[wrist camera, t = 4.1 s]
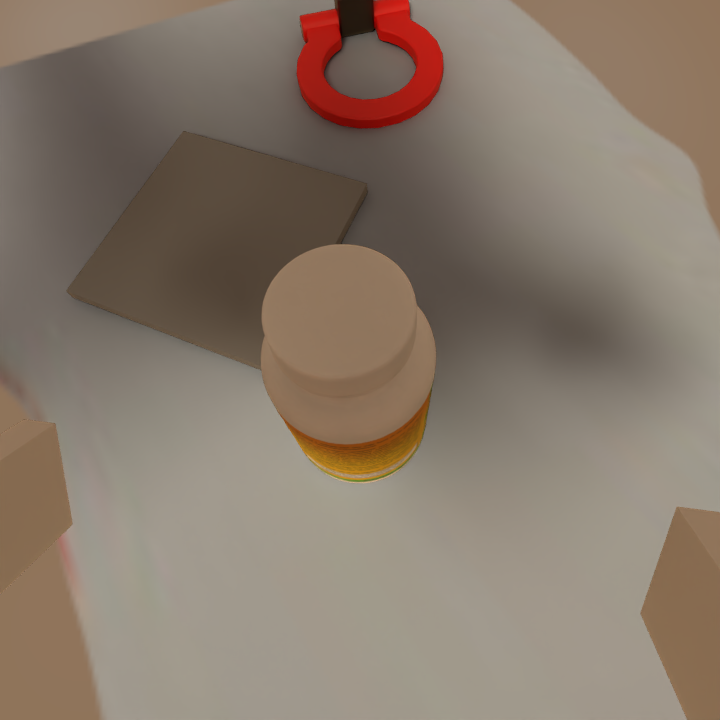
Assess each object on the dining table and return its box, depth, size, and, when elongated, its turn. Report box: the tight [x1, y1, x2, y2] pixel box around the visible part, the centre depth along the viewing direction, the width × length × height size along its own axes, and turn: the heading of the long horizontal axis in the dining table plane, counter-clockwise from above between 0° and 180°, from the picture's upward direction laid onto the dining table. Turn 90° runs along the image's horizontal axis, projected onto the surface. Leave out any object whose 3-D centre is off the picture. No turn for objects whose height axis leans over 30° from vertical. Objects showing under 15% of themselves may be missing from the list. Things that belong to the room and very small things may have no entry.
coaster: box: [66, 131, 368, 370], centre depth 26 cm, size 11×11×1 cm
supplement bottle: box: [261, 244, 436, 483], centre depth 17 cm, size 5×5×10 cm
